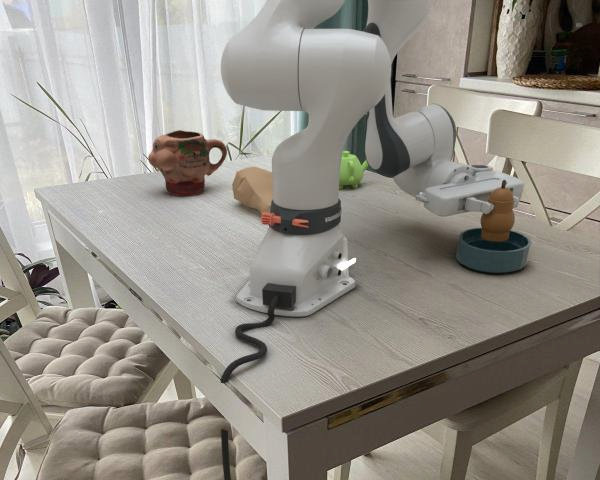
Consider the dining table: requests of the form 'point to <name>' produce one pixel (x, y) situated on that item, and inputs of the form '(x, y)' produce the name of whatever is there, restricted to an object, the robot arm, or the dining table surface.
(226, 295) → the dining table surface
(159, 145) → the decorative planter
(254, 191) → the squash
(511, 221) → the pear
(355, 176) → the teapot
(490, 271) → the bowl
